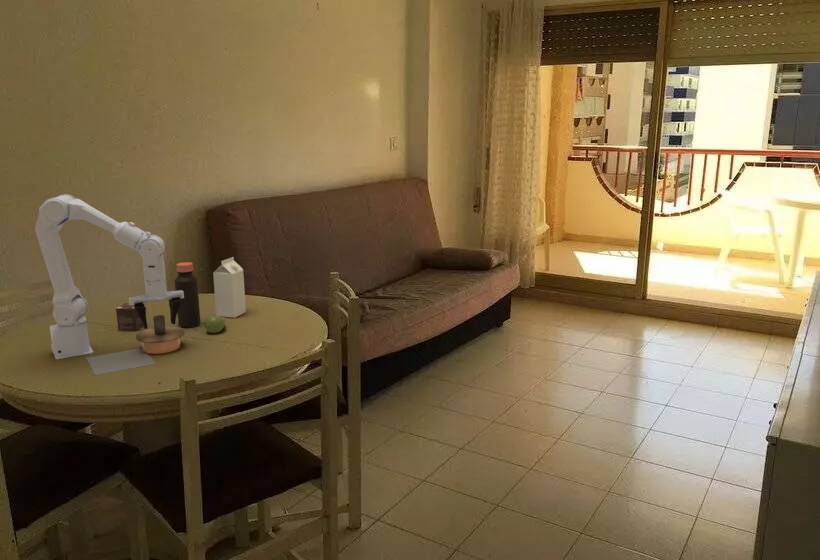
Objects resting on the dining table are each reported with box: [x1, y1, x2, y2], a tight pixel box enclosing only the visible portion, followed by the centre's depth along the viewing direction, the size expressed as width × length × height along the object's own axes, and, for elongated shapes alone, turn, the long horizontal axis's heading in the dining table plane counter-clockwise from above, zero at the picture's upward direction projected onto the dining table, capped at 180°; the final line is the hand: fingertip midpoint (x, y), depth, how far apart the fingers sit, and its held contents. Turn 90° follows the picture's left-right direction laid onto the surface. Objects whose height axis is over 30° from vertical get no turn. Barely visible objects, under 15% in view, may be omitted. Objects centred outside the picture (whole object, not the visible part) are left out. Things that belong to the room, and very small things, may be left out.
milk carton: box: [212, 256, 247, 319], centre depth 222 cm, size 7×7×19 cm
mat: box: [85, 347, 156, 376], centre depth 181 cm, size 15×15×1 cm
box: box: [115, 302, 143, 332], centre depth 209 cm, size 6×6×7 cm
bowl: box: [141, 337, 181, 355], centre depth 191 cm, size 10×10×4 cm
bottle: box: [174, 261, 201, 329], centre depth 211 cm, size 7×7×20 cm
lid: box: [135, 314, 185, 343], centre depth 190 cm, size 13×13×6 cm
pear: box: [204, 315, 226, 334], centre depth 208 cm, size 6×5×10 cm
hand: (159, 325), depth 190 cm, fingers open, 7 cm apart
